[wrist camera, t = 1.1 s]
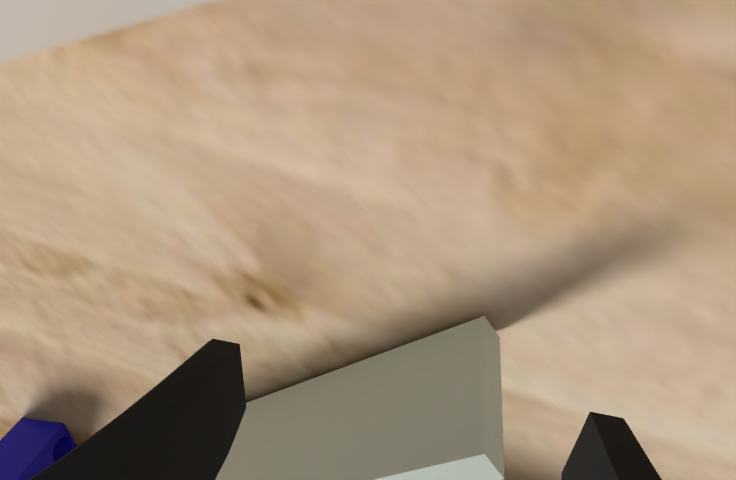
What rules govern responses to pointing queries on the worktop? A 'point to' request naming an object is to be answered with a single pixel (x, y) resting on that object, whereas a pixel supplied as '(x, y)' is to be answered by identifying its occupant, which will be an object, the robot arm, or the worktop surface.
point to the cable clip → (32, 448)
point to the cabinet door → (384, 417)
